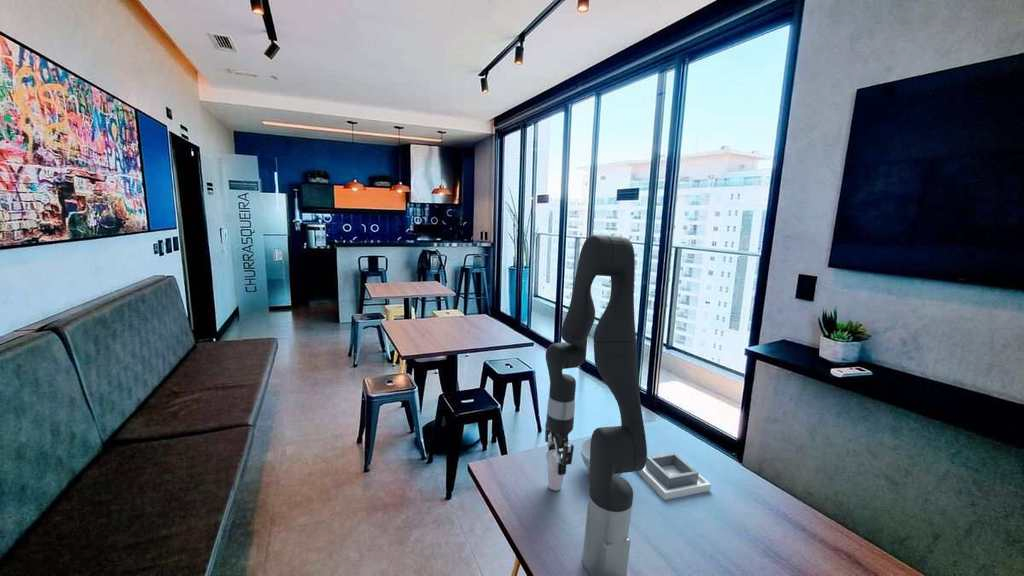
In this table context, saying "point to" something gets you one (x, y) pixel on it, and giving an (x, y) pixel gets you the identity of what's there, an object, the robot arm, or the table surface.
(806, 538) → the table surface
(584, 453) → the chinaware
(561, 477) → the smoothie
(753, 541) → the table surface
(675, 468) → the white square tray
